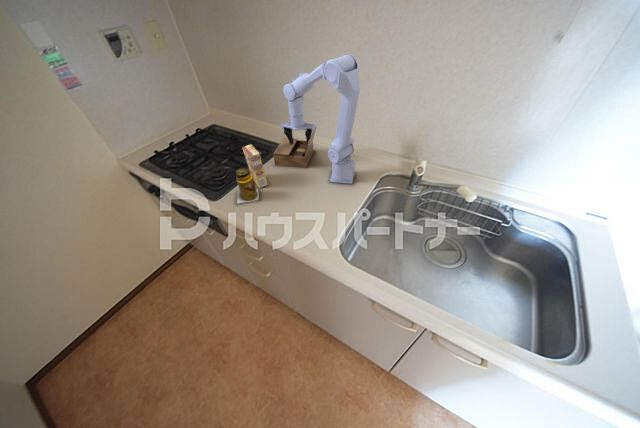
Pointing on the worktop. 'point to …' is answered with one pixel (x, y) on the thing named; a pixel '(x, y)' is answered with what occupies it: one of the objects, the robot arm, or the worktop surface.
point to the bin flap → (310, 141)
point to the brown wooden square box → (291, 154)
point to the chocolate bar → (301, 150)
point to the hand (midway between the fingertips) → (300, 144)
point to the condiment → (246, 186)
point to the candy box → (255, 165)
